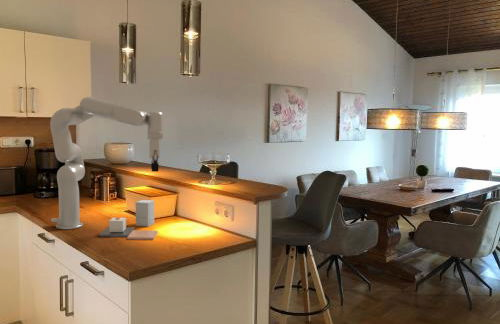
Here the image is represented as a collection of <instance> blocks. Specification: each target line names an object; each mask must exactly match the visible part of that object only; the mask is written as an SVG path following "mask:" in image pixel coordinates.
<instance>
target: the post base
mask: <svg viewBox="0 0 500 324" xmlns="http://www.w3.org/2000/svg"><path fill="white" fill-rule="evenodd" d="M132 231H136V227H131V226H130V227H129V226H128V227H127V226H126V229H125V230H124V231H123V232H109V226H107V227H105V229H103V230H102V231H101V232H100V233H99V234H98V237H99V238H100V237H101V238H104V237H105V238H127V237H128V236H129V235H130V233H131V232H132Z"/></svg>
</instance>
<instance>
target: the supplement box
mask: <svg viewBox="0 0 500 324" xmlns="http://www.w3.org/2000/svg"><path fill="white" fill-rule="evenodd" d="M154 224H155V200H153V199H152V200H150V199H149V200H148V199H141V200H139V201H136V202H135V226H139V227H150V226H153V225H154Z"/></svg>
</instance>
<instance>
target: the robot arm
mask: <svg viewBox="0 0 500 324" xmlns="http://www.w3.org/2000/svg"><path fill="white" fill-rule="evenodd" d="M93 117H98V118H103V119H106V120H110V121H115V122H118V123H123V124H126V125H129V126H134V127H144V126H147V138H146V139H147V140H149V141H148V142H149V143H148V144H149V145H148V147H149V148H148V157H149V158H148V159H150V160H151V161H150V163H151V164H150V166H151V168H150V169H151V172H159V160H160V155H161V140H163V139H164V138H163V137H164V136H163V135H164V134H163V133H164V128H163V127H164V115H163V112H161V111H144V110H136V109H133V108H129V107H125V106H124V107H123V106H121V105H118V104H117V103H115V102H111V101H107V100H104V99H103V100H102V99H99V98H97V97H93V96H92V97H91V96H86V97H83V98H82V99H81V100H80V102H79V105H78V106H76V107H74V108H71V107H62V108H60V109H57V111H56V112H54V113H53V114H52V116H51V118H50V126H49V127H50V131H51V137H52V142H53V148H54V154H55V158H56V159H57V161H59V162H60V163H65V164H64V165H63V166H61V167H60V168H59V169H58V170H57V173H56V180H57V181H56V182H57V187H58V217H57V218H56V217H54V218H53V217H52V218H51V219H50V221H51V223H54V224H55V223H56V224H55V228H56V229H60V230H72V229H78V228H82V227H83V225H84V223H83V222H81V221H80V187H79V183H78V181H81V180H82V179H83V178H84V176H85V173H86V168H85V162H84V157H83V151H82V149H81V147H80V146H79V145H78V144H76V143H75V142H73V140H72V133H71V131H70V129H69V126H77V125H80V124H83V123H85V122H86V121H87V120H90V119H92V118H93Z"/></svg>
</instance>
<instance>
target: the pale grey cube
mask: <svg viewBox="0 0 500 324" xmlns="http://www.w3.org/2000/svg"><path fill="white" fill-rule="evenodd" d="M108 222H109V223H108V224H109V225H108V227H109V232H123V231H124V230H125V229H126V227H127V217H112V218H110V219H109V221H108Z"/></svg>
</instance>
